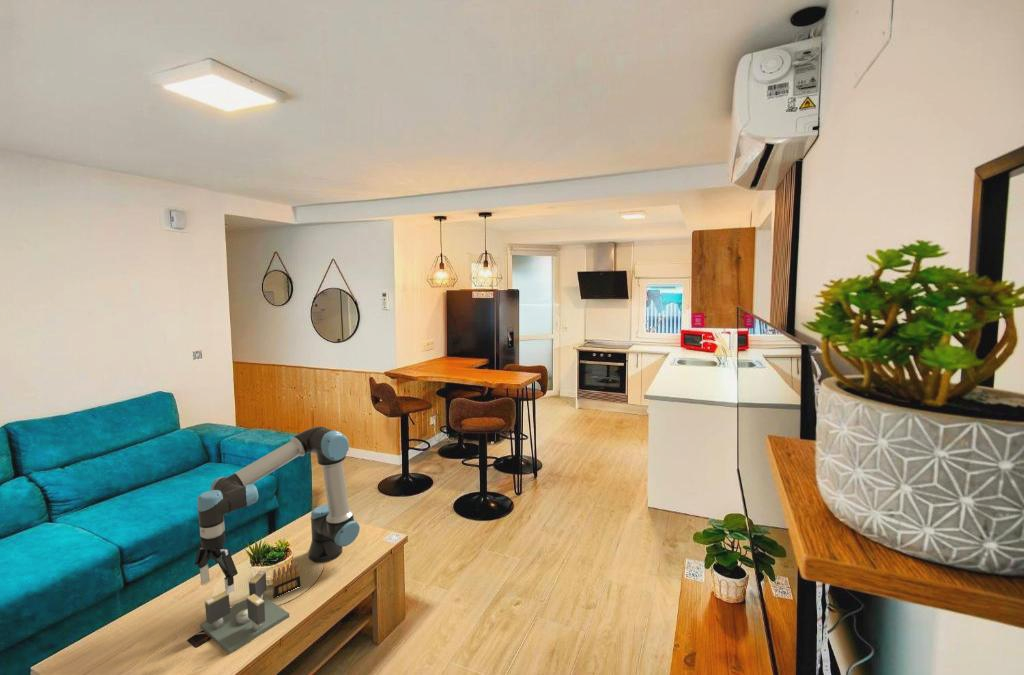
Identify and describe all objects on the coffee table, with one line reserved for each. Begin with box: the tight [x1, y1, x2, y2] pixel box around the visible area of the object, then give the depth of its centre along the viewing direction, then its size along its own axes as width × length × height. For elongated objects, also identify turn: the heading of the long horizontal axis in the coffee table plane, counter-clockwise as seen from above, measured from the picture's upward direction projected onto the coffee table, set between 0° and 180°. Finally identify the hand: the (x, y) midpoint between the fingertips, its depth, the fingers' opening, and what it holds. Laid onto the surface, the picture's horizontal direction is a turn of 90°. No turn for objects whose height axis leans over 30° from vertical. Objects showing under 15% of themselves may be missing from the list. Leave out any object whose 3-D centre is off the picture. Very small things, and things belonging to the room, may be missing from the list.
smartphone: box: [186, 629, 213, 648], centre depth 171 cm, size 7×1×15 cm
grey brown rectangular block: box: [248, 570, 268, 600], centre depth 183 cm, size 7×3×12 cm, turn 177°
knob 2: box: [246, 594, 265, 631], centre depth 170 cm, size 7×3×12 cm, turn 57°
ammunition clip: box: [272, 560, 302, 599], centre depth 193 cm, size 11×2×12 cm, turn 134°
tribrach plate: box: [199, 594, 290, 655], centre depth 176 cm, size 22×22×4 cm
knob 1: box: [204, 590, 231, 629], centre depth 171 cm, size 7×3×12 cm, turn 147°
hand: (217, 587), depth 170 cm, fingers open, 13 cm apart
